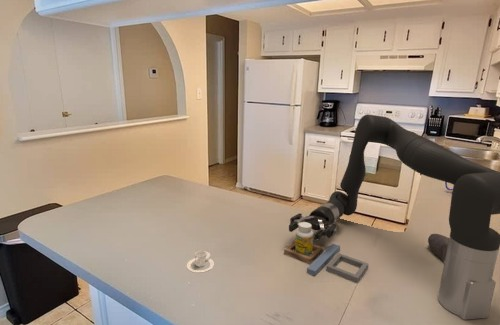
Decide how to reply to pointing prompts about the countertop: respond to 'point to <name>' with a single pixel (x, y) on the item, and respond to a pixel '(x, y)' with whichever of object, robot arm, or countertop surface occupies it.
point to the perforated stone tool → (438, 244)
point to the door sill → (323, 259)
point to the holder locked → (299, 256)
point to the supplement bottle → (304, 239)
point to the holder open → (345, 274)
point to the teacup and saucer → (200, 261)
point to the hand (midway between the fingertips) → (302, 233)
